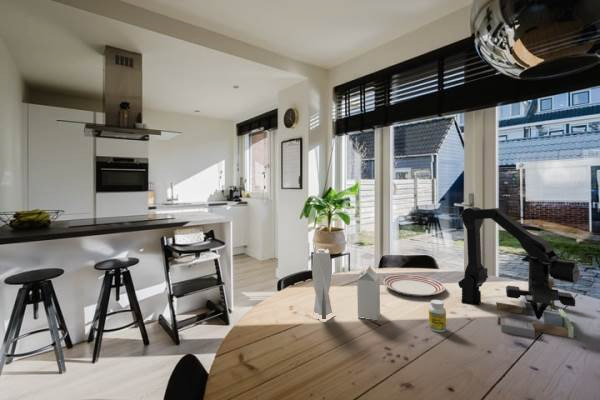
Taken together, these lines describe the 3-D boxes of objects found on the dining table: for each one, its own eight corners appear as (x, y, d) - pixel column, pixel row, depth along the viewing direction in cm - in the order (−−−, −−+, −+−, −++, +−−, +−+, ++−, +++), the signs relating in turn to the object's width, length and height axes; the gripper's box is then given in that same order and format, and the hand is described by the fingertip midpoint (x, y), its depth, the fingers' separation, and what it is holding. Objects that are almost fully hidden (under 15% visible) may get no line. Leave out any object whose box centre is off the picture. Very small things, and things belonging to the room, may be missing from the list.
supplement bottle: (444, 326, 107) (444, 299, 106) (447, 333, 102) (447, 305, 101) (428, 324, 108) (428, 298, 108) (429, 331, 103) (429, 304, 103)
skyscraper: (307, 317, 118) (305, 246, 117) (320, 310, 124) (319, 242, 122) (324, 323, 112) (322, 248, 111) (337, 316, 118) (335, 245, 117)
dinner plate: (448, 285, 149) (448, 278, 148) (440, 305, 125) (440, 297, 125) (392, 277, 163) (392, 271, 163) (375, 293, 140) (375, 286, 140)
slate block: (544, 326, 105) (545, 315, 104) (542, 321, 108) (543, 310, 108) (561, 329, 102) (562, 317, 102) (559, 323, 106) (559, 312, 106)
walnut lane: (497, 324, 107) (497, 317, 107) (496, 308, 120) (496, 302, 120) (568, 336, 97) (568, 329, 97) (558, 318, 110) (558, 311, 110)
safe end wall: (568, 336, 97) (568, 326, 97) (558, 318, 110) (558, 308, 110) (573, 337, 97) (573, 327, 96) (562, 318, 110) (562, 309, 110)
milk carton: (380, 313, 118) (379, 265, 117) (376, 321, 112) (375, 270, 111) (362, 311, 121) (361, 264, 120) (357, 318, 115) (356, 269, 114)
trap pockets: (501, 331, 102) (501, 324, 102) (497, 303, 125) (498, 297, 125) (565, 343, 93) (565, 335, 93) (549, 311, 116) (549, 305, 116)
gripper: (508, 278, 104) (507, 322, 105) (580, 286, 95) (579, 335, 96) (506, 270, 114) (505, 310, 115) (571, 276, 104) (570, 321, 105)
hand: (538, 319), depth 107 cm, fingers closed
